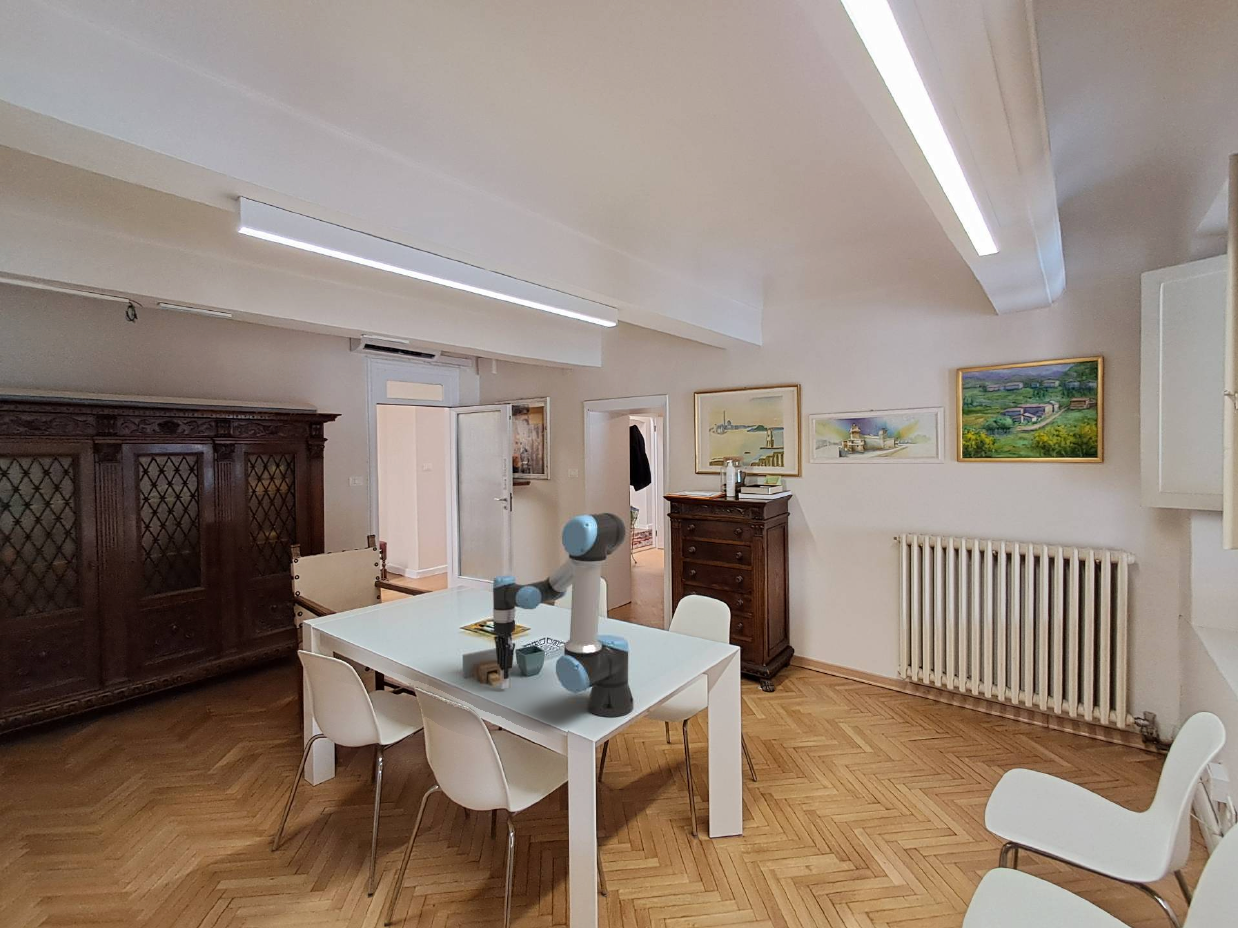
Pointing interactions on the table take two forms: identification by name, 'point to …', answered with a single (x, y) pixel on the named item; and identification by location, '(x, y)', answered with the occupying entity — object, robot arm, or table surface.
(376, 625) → the table surface
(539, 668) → the flower pot
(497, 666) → the block
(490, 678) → the dowel
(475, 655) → the wall
